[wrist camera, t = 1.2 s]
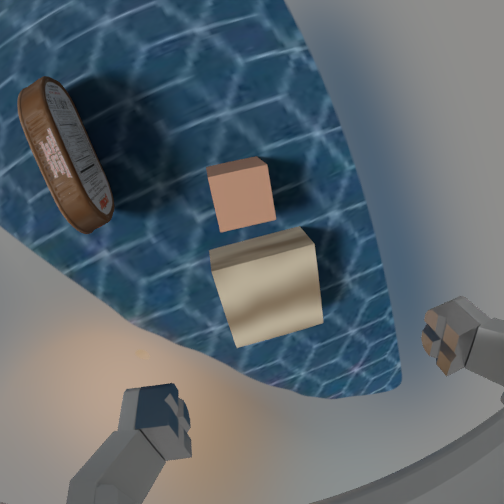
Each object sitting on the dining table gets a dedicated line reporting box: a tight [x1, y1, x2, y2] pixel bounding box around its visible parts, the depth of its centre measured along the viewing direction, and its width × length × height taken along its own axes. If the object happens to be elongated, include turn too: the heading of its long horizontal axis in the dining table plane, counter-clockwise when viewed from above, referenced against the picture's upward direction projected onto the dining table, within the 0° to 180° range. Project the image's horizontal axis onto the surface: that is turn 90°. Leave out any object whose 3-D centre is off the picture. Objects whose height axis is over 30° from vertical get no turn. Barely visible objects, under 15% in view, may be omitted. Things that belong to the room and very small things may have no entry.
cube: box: [206, 156, 276, 232], centre depth 29 cm, size 5×5×5 cm
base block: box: [209, 226, 323, 348], centre depth 34 cm, size 10×10×5 cm
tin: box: [18, 76, 114, 234], centre depth 23 cm, size 15×3×8 cm, turn 20°
